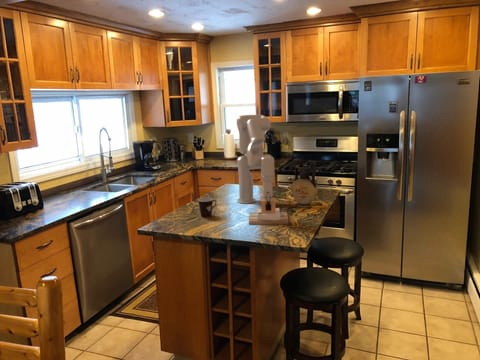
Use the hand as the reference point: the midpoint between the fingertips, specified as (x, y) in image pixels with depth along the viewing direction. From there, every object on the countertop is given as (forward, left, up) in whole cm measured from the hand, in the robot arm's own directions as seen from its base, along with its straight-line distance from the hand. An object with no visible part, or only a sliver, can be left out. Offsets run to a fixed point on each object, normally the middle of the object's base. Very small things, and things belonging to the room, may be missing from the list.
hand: (268, 208), depth 223 cm
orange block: (0, 0, -4) cm, 4 cm away
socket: (0, 0, -5) cm, 5 cm away
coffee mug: (-10, -36, -7) cm, 38 cm away
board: (0, 0, -7) cm, 7 cm away
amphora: (-30, +24, -7) cm, 39 cm away
